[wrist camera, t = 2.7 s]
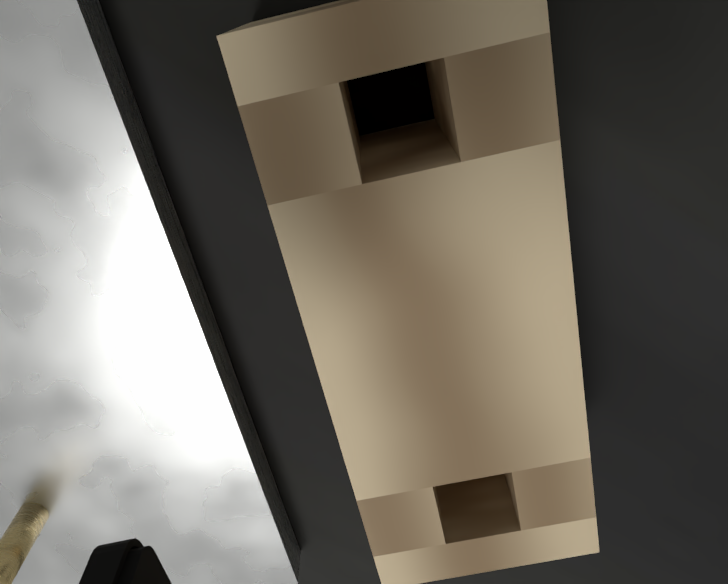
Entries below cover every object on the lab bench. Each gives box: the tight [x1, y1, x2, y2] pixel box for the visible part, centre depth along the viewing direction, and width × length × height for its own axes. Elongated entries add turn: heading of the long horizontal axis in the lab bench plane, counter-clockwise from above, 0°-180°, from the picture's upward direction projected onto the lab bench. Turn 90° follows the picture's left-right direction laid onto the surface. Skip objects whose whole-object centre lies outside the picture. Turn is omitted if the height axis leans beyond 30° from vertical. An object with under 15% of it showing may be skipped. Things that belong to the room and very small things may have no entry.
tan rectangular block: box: [217, 0, 599, 584], centre depth 18 cm, size 6×16×5 cm, turn 13°
